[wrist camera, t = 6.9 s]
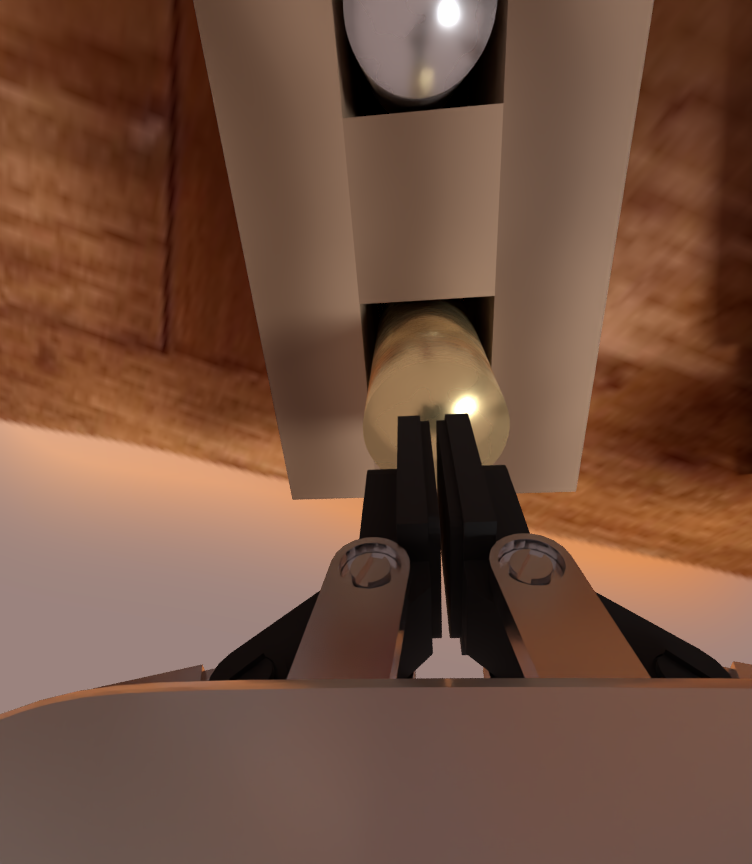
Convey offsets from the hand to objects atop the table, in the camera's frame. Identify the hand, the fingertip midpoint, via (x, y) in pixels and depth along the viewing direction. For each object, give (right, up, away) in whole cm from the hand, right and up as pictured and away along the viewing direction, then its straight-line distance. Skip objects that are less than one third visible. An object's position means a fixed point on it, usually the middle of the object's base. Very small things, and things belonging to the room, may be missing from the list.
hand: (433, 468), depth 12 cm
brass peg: (+1, +5, +9) cm, 10 cm away
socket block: (+1, +12, +11) cm, 17 cm away
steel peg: (0, +16, +8) cm, 18 cm away
